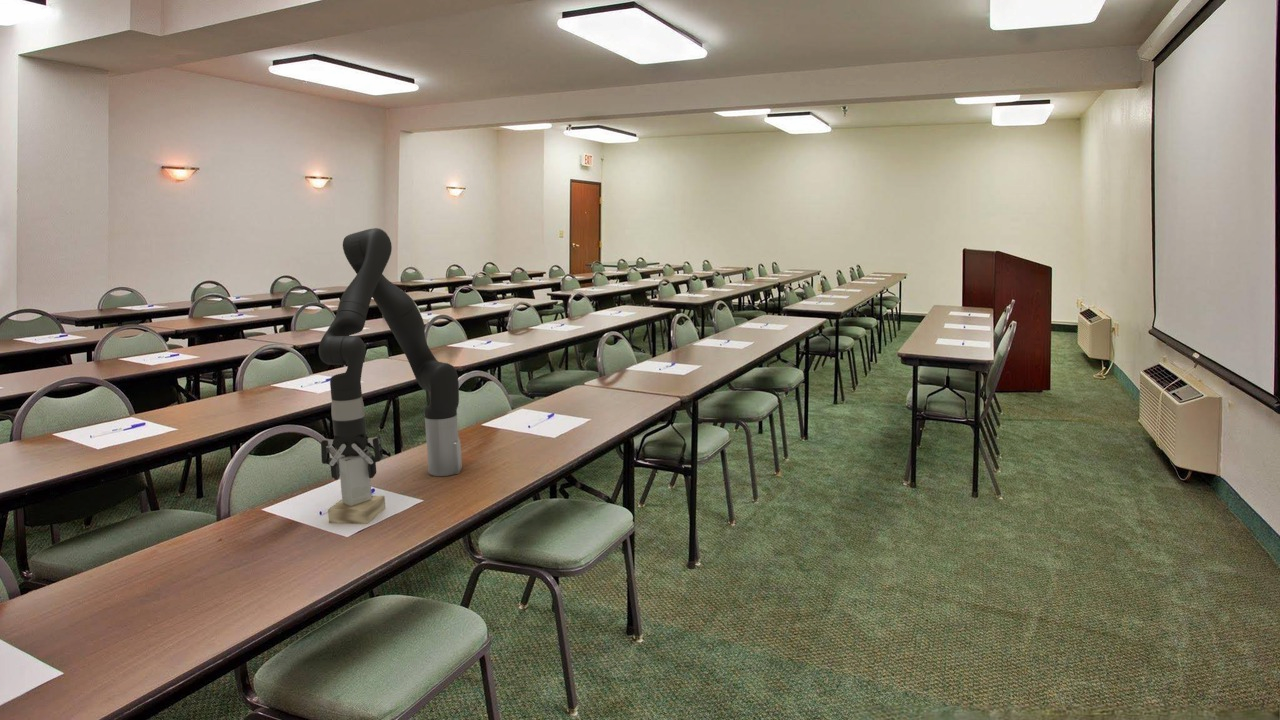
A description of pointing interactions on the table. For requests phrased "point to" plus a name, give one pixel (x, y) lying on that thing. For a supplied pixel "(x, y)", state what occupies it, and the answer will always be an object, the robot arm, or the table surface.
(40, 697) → the table surface
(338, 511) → the block
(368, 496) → the skincare box
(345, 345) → the robot arm
